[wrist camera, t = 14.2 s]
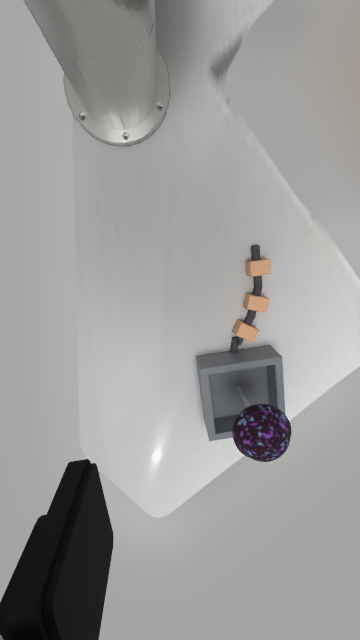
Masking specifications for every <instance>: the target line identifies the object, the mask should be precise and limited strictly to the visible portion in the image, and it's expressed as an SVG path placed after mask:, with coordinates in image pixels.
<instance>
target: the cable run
mask: <svg viewBox="0 0 360 640" xmlns="http://www.w3.org/2000/svg"><path fill="white" fill-rule="evenodd" d="M251 251H252V260H251V261H246V271H247V275H248V276H250V277H254V289H253V293H252V294H248V293H246V296H245V300H244V305H243V307H245V308H246V309H248V314H247V316H246V318H245V320H244V322H243V321H241V320H238V321H237V323H236V325H235V327H234V329H233V333H234V334H235V335H236V337H232V343H231V352H232V353H236V352H238V347H239V345H241V343H242V341H243V340H244V339H245V340H248V341H250V342H252V343H253V341H254V339H255V337H256V335H257V333H258V331H259V330H258V329H257V328H256V327H254V326H252V325H251V324H252V322H253V320H254V318H255V315H256V311H260V312H266V310H267V306H268V302H269V298H267V297H265V296H260V294H261V290H262V276H261V275H267V274H271V265H270V259H260V247H259V245H256V246H251Z"/></svg>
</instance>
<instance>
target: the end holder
mask: <svg viewBox="0 0 360 640" xmlns="http://www.w3.org/2000/svg"><path fill="white" fill-rule="evenodd" d="M196 359H197V367H198V374H199V382H200V389H201V397H202V405H203V412H204V420H205V425H206V429H207V433H208V437H209V441H213V440H219V439H225V438H232V437H233V433H232V431H233V425H234V422H235V420H236V418H237V417H238V415H239V414H240V413H241V411H243V410H244V409H245V408H246V407H245V405H244V403H243V401H242V399H241V397H240V395H239V393H238V391H237V389H236V387H235V386H236V385H237V384H238V385H239V386H240V387H241V389H242V391H243V393H244V395H245V397H246V399H247V400H248V402H249V404H250V406H251V405H254V404H268V405H272V406H275V407H277V408H278V409H280V410H281V411H282V412H283V413H284V414H285V401H284V384H283V366H282V356H281V355H280V354H279V353H277V352H276V351H275V350H274V349H273V348H272V347H271V346H270V345H267V346H261V347H254V348H247V349H241V350H238V352H236V353H232V352H231V351H228V352H221V353H214V354H208V355H201V356H196Z"/></svg>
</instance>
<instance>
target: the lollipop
mask: <svg viewBox="0 0 360 640" xmlns="http://www.w3.org/2000/svg"><path fill="white" fill-rule="evenodd" d="M235 387H236V389H237V391H238V393H239V395H240V397H241V399H242V401H243V403H244V405H245V407H246V408H245V409H244V410H243V411H241V413H240V414H239V415H238V417H237V418H236V420H235V422H234V425H233V431H232V433H233V439H234V442H235V444H236V446H237V448H238V449H239V451H240V452H241V453H243V454H244V455H245V456H247V457H250V458H252V459H254V460H257V461H261V462H268V461H273V460H275V459H277V458H279V457H280V456H281V455H282V454H284V452H285V451H286V449H287V447H288V445H289V441H290V437H291V426H290V423H289V420H288V418H287V417H286V415H285V414H284V413H283V412H282V411H281V410H280V409H278V408H277V407H275V406H272V405H268V404H254V405H251V406H250V404H249V402H248V400H247V399H246V397H245V395H244V393H243V391H242V389H241V387H240V386H239V385H238V384H237V385H236V386H235Z"/></svg>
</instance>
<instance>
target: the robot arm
mask: <svg viewBox="0 0 360 640" xmlns="http://www.w3.org/2000/svg"><path fill="white" fill-rule="evenodd" d="M24 2H25V4H26V5H27V7H28V9H29V10H30V12H31V14H32V16H33V18H34V19H35V21H36V23H37V24H38V26H39V28H40V30H41V32H42V34H43V36H44V37H45V39H46V41H47V43H48V44H49V46H50V48H51V50H52V51H53V53H54V55H55V57H56V58H57V60H58V62H59V64H60V65H61V67H62V69H63V71H64V88H65V94H66V98H67V101H68V104H69V107H70V109H71V111H72V113H73V115H74V116H75V118H76V119H77V121H78V122H79V123H80V125H81V126H82V127H83V128H84V129H85V130H86V131H87V132H88V133H89V134H90V135H92V136H93V137H95V138H96V139H98V140H100V141H101V142H104V143H107V144H110V145H117V146H126V145H132V144H135V143H139V142H140V141H142V140H144V139H146V138H147V137H149V136H150V135H151V134H152V133H153V132H154V131H155V130H156V129H157V127H158V126H159V125H160V124H161V122H162V120H163V118H164V116H165V113H166V110H167V107H168V101H169V89H170V84H169V76H168V71H167V68H166V64H165V62H164V60H163V57H162V55H161V53H160V52H159V50H158V49H157V47H156V32H155V0H24ZM159 107H161V108H162V110H158V108H159ZM83 117H85V118H86V119H85V120H82V118H83ZM125 137H128V139H127V140H125V139H124V138H125ZM112 549H113V531H112V527H111V523H110V519H109V515H108V510H107V506H106V502H105V498H104V494H103V489H102V485H101V481H100V477H99V473H98V469H97V465H96V464H95V463H93V464H91V463H90V461H89V460H88V459H86V460H79V461H73V462H69V463H68V465H67V467H66V470H65V472H64V474H63V477H62V479H61V482H60V484H59V487H58V489H57V491H56V494H55V496H54V498H53V501H52V503H51V506H50V508H49V510H48V513H47V515H42V516H41V517H39V518H38V520H37V522H36V524H35V526H34V528H33V530H32V533H31V535H30V537H29V539H28V542H27V544H26V546H25V548H24V551H23V553H22V555H21V558H20V560H19V562H18V564H17V567H16V569H15V571H14V573H13V575H12V578H11V580H10V582H9V585H8V587H7V589H6V591H5V593H4V596H3V598H2V600H1V602H0V640H98V639H99V633H100V626H101V620H102V613H103V607H104V600H105V593H106V588H107V581H108V574H109V568H110V562H111V555H112Z"/></svg>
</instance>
